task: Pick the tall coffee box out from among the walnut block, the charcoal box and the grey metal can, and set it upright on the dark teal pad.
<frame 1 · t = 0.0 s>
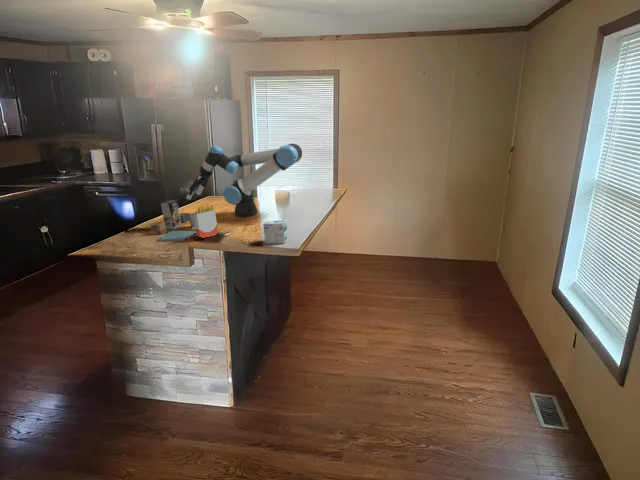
hand: (193, 196, 277), 15 cm above the countertop, tool tilted 35°, fingers open, 13 cm apart
french fries container: (207, 238, 240), on the countertop
charcoal box: (183, 222, 278), on the countertop
light bulb box: (276, 242, 224), on the countertop
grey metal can: (196, 226, 264), on the countertop
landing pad: (178, 236, 246), on the countertop
coffee box: (173, 227, 267), on the countertop
walnut block: (159, 233, 255), on the countertop
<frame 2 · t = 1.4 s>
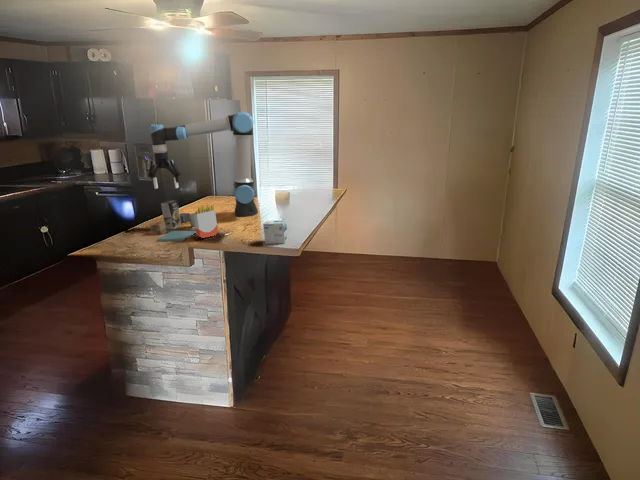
hand: (166, 188, 260), 24 cm above the countertop, tool pointing down, fingers open, 13 cm apart
nothing on the countertop moved.
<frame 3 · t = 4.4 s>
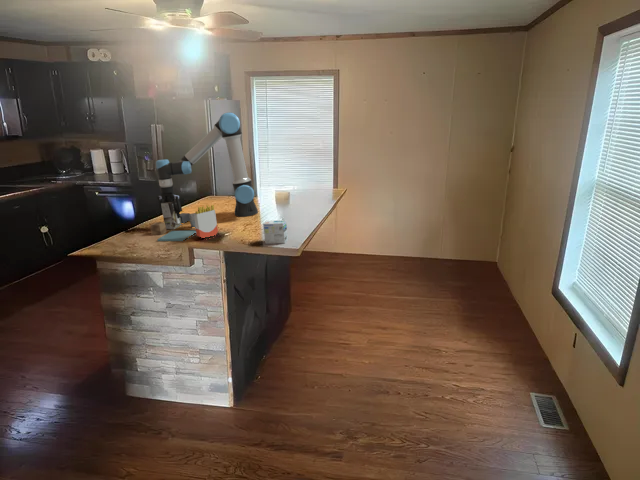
hand: (173, 223, 266), 2 cm above the countertop, tool pointing down, fingers closed on coffee box, 6 cm apart
coffee box: (173, 227, 267), on the countertop, touching gripper
everything else where it was.
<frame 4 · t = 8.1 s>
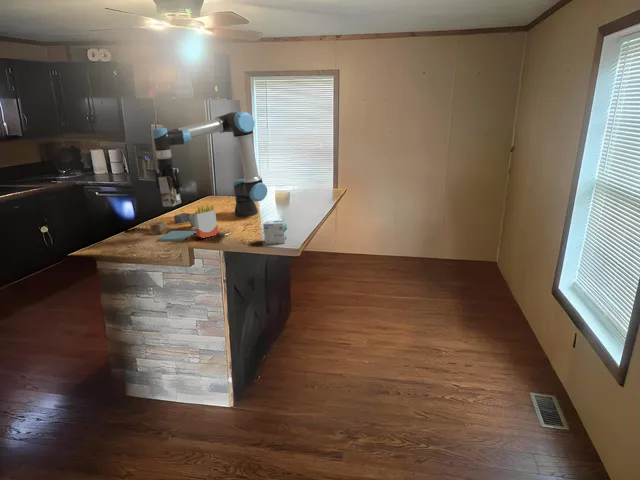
hand: (171, 200, 240), 21 cm above the countertop, tool pointing down, fingers closed on coffee box, 6 cm apart
coffee box: (172, 205, 240), point 18 cm above the countertop, touching gripper
everything else where it was.
when the fingers open (5 cm above the countertop, at t = 11.9 s): coffee box drops 1 cm, resting on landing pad.
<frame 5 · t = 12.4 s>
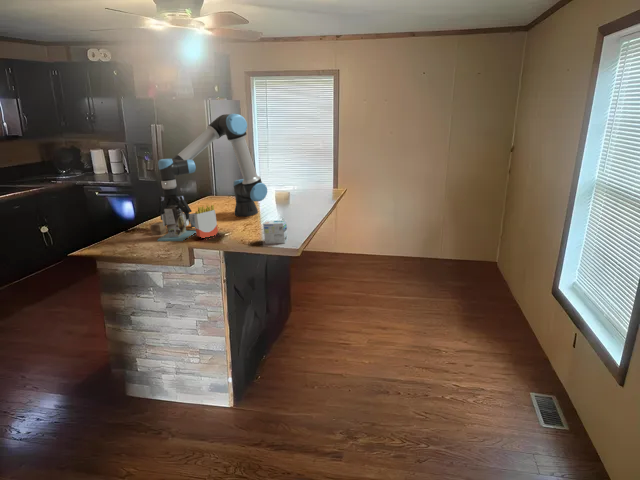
hand: (176, 225, 244), 7 cm above the countertop, tool pointing down, fingers open, 13 cm apart
coffee box: (178, 235, 245), point 1 cm above the countertop, touching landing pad
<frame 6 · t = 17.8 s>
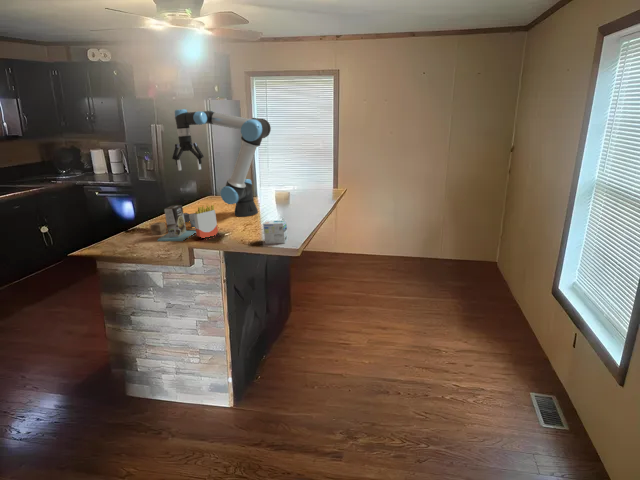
hand: (189, 170, 275), 32 cm above the countertop, tool pointing down, fingers open, 13 cm apart
at the end: coffee box inside the target area on the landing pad (0.0 cm from its centre), point 1.0 cm above the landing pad's base; coffee box tilted 0°; the gripper is holding nothing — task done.
